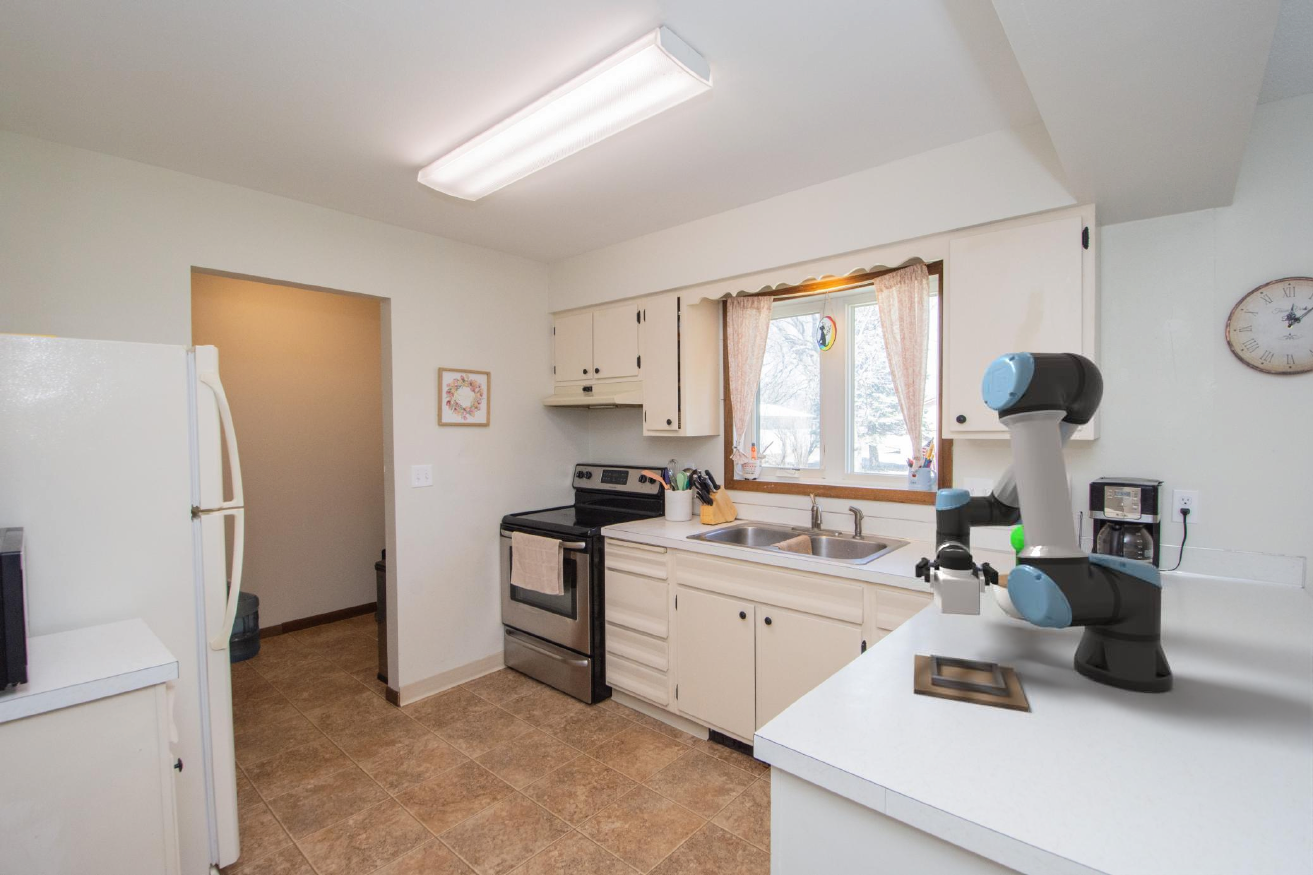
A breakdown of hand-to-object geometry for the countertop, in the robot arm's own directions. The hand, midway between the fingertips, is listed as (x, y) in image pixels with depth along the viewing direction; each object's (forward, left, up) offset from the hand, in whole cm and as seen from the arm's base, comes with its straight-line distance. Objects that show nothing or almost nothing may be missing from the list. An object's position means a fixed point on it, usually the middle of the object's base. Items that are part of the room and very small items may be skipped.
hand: (957, 583), depth 116 cm
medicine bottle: (0, -5, -7) cm, 8 cm away
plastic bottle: (-22, -65, -18) cm, 71 cm away
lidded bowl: (-17, -47, -18) cm, 54 cm away
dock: (-1, +4, -18) cm, 18 cm away
